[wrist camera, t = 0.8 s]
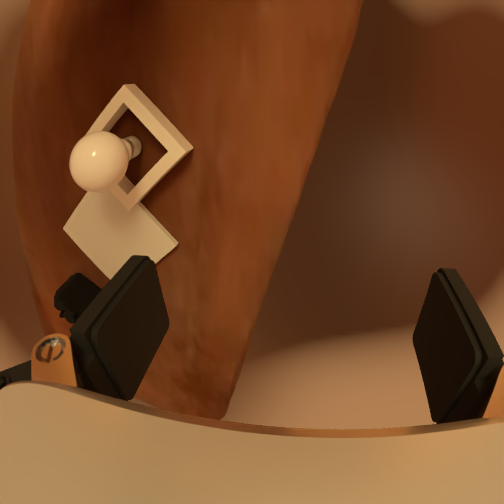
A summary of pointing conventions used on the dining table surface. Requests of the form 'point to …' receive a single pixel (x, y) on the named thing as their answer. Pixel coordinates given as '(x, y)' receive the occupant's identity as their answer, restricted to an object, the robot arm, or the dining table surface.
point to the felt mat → (116, 232)
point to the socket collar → (157, 126)
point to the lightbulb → (102, 160)
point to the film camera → (75, 297)
